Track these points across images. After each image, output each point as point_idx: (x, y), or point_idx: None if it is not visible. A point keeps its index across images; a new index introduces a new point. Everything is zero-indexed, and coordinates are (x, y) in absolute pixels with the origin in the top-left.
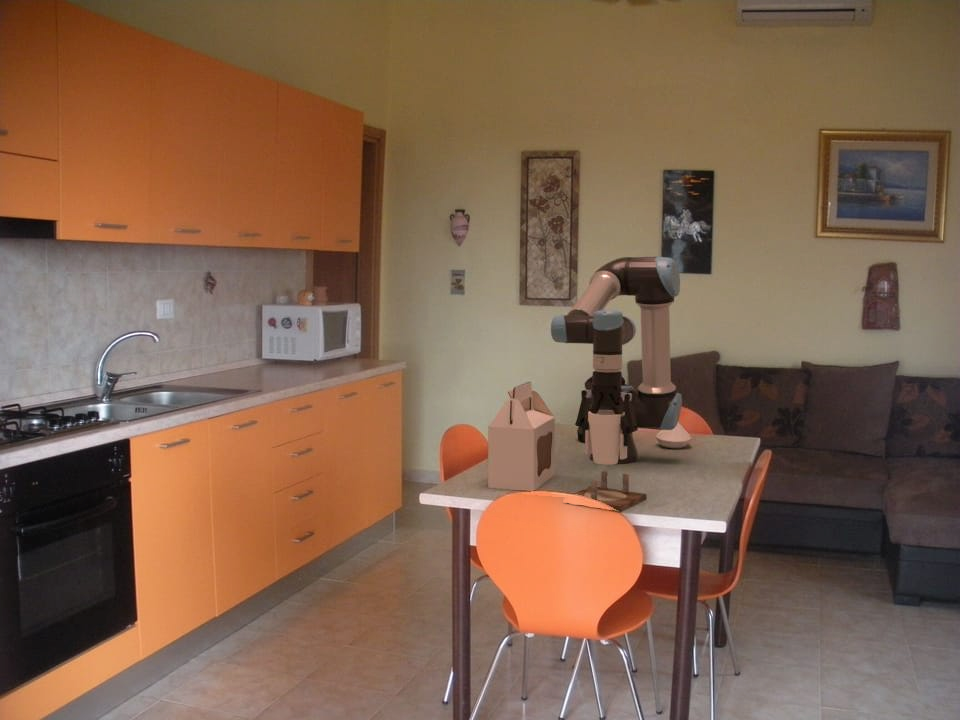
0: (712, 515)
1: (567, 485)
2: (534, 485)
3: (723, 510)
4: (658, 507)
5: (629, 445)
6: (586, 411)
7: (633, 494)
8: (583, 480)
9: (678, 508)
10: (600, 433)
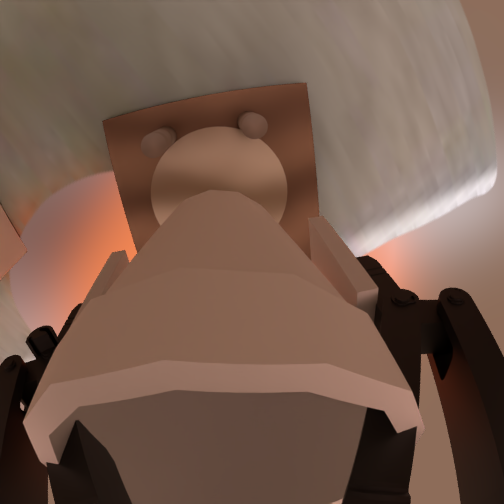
0: (481, 137)
1: (20, 126)
2: (16, 250)
3: (482, 81)
4: (372, 143)
5: (368, 257)
6: (9, 446)
7: (277, 116)
8: (15, 46)
9: (413, 121)
10: (252, 416)
